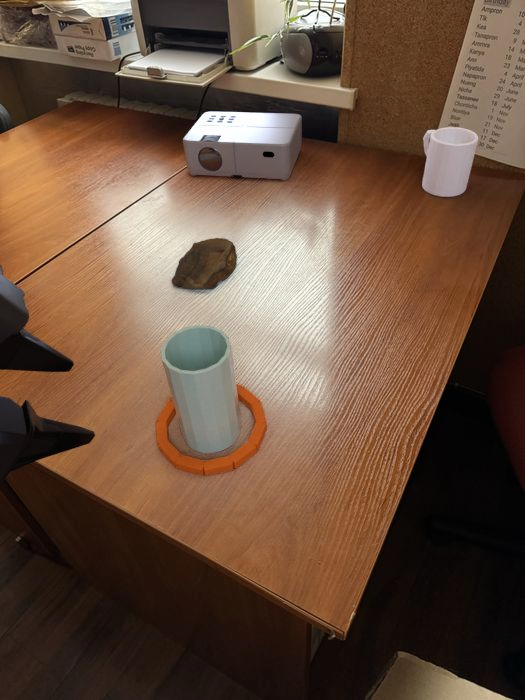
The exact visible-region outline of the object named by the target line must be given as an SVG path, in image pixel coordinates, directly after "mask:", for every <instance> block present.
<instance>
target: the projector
mask: <svg viewBox="0 0 525 700" xmlns="http://www.w3.org/2000/svg"><path fill="white" fill-rule="evenodd" d="M302 122H303V117H302V115H301V114H298V113H283V112H281V113H280V112H279V113H277V112H276V113H275V112H242V111H239V112H238V111H205V112H204V113H203V114H201V116H200V117H199V118H198V120H197V121H196V122H195V123H194V125H193V126H192V127H191V129H189V131H188V132H187V133H186V134H185V136H184V137H183V138H182V144H183V150H184V156H185V162H186V163H185V164H186V168H187V170H188V171H187V172H188V174H190V175H191V176H192V177H195V176H196V177H197V176H212V177H213V176H214V177H232V178H235V179H240V178H250V179H251V178H252V179H253V178H254V179H271V180H281V181H283V182H284V181H287V180H288V179H289V178H290V177H291V175H292V172H293V170H294V167H295V165H296V162H297V159H298V157H299V155H300V153H301V150H302V145H303V144H302V142H303V134H302V133H303V132H302V131H303V129H302V128H303V123H302Z"/></svg>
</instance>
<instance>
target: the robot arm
mask: <svg viewBox="0 0 525 700" xmlns="http://www.w3.org/2000/svg"><path fill="white" fill-rule="evenodd" d="M25 296H26V293H25V291H24V290H23V289H22V288H20V287H19V286H18V285H16V283H14V282H12V281H11V280H10V279H9V278H7V277H6V276H5V275H4V271H3V266H2V264H0V370H1V371H19V372H40V373H70V371H72V369H73V367H74V365H75V363H74V360H73V359H71V358H70V357H68V356H66V355H65V354H63V353H61V352H60V351H59V350H57V349H55V348H54V347H52V346H50V345H49V344H47V343H46V342H44V341H42V340H41V339H40V338H38V337H36V336H35V335H34V334H32V333H31V332H29V331H28V330H27V329H25V327H26V325H27V324H28V322H29V320H30V312H29V311H30V310H28V308H27V306H26V302H25V298H24V297H25ZM94 438H96V433H95V431H94V430H91V429H88V428H85V427H82V426H79V425H75V424H71V423H67V422H63V421H60V420H59V421H58V420H55V419H50V418H46V417H42V416H40V415H38V414H37V412H36V411H35V409H34V407H33V405H32V404H31V402H30V400H28V399H25V400H24V401H23V403H22V404H21V405H19V404H18V403H17V402H15V401H14V400H13V399H12V398H10V397H8V396H1V395H0V485H2V484H3V483H4V482H5V480H6V479H7V477H8V476H9V475H10V473H12V472H13V471H16V470H18V469H21V468H23V467H26V466H27V465H30V464H32V463H35V462H37V461H40V460H43V459H46V458H48V457H49V458H50V457H52V456H55V455H59V454H61V453H65V452H68V451H71V450H73V449H77V448H80V447H83V446H86V445H89V444H91V442H92V441H94Z"/></svg>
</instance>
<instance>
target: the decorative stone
mask: <svg viewBox="0 0 525 700" xmlns="http://www.w3.org/2000/svg"><path fill="white" fill-rule="evenodd" d="M236 251H237V250H236V245H235V244H234V242H233V241H231V240H230V239H227V238H225V237H215V238H208V239H204V240H200V241H196V242H193V243H192V245H191V247H190V249H188V251H186V253H185V254H184V255H183V256H182V257H181V258H180V259H179V260H178V265H177V266H176V269H175V272H174V273H175V274H174V275H173V277H172V279H171V284H172V285H173V286H175V287H176V288H180V289H186V290H205V289H206V290H210V289H211V290H213V289H215V288H216V287H217V286H218V284H219V283H220V282H223V281H225V280H226V279H227V278H229V277H230V276H231V275H232V274H233V272H234V270H236V268H237V263H238V261H237V259H238V255H237V252H236Z"/></svg>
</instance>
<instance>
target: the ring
mask: <svg viewBox="0 0 525 700" xmlns="http://www.w3.org/2000/svg"><path fill="white" fill-rule="evenodd" d="M236 386H237V394H238V401H240V402H241V403H242V404H244V405H245V406H246V407H247V408H248V409H249V410H251V412H252V417H253V420H254V425H253V428H252V431H251V434H250V435H249V438H248V440H247V441H246V442H245V443H244V444H242V445H241V446H240V447H238V448H237V449H236V450H234V452H233V451H232V453H230V454H229V455H226V456H221V457H217V458H210V459H207V460H204V459H200V458H196V457H193V456H188V455H184V454H182V453H180V451H179V449H177V448H176V447H175V446H174V445H173V444H172V443H171V441H170V435H169V434H170V433H169V426H170V424H171V422H172V421H173V419H174V417H175V416H176V410H175V406H174V403H173V399H172V397H170V398H169V400H167V401H166V403H165V405H164V406H163V408H162V410H161V411H160V413H159V415H158V416H157V418H156V421H155V431H156V444H157V447H158V449H159V452H160V453H161V454H162V455H163V456H164V457H165V458H166V459H167V460H168V462H169V463H170V464H171V465H172V466H173V467H174V468H176V470H179V471H182V472H187V473H190V474H194V475H197V476H200V477H204V476H205V477H208V476H212V475H217V474H221V473H227V472H231V471H234V470H236V469H238V468H239V467H240V466H242V465H243V464H244V463H246V462H247V461H248V460H249V459H251V458H252V457H253V456H255V455H256V454H257V453H258V451H259V450H260V447H261V445H262V443H263V441H264V437H265V435H266V432H267V428H268V426H267V419H266V415H265V411H264V408H263V404H262V401H261V400H260V399H259V398H258V397H257V396H256V395H254V394H253V393H252V392H251V391H250V390H249V389H248V388H246V387H245V386H242V384H238V383H236Z"/></svg>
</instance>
